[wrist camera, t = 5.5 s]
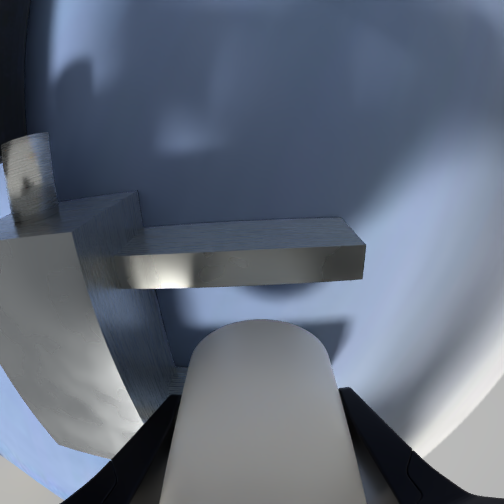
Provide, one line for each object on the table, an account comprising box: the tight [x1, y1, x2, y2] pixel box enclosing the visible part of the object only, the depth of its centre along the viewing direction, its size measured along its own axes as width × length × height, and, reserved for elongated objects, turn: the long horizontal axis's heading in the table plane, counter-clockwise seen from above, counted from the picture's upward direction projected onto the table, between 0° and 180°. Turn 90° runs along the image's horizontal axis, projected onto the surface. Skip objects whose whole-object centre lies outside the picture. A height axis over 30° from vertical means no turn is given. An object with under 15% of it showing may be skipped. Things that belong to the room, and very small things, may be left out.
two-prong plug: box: [0, 132, 366, 459], centre depth 11 cm, size 15×15×5 cm
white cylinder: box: [159, 319, 367, 504], centre depth 7 cm, size 5×5×8 cm
